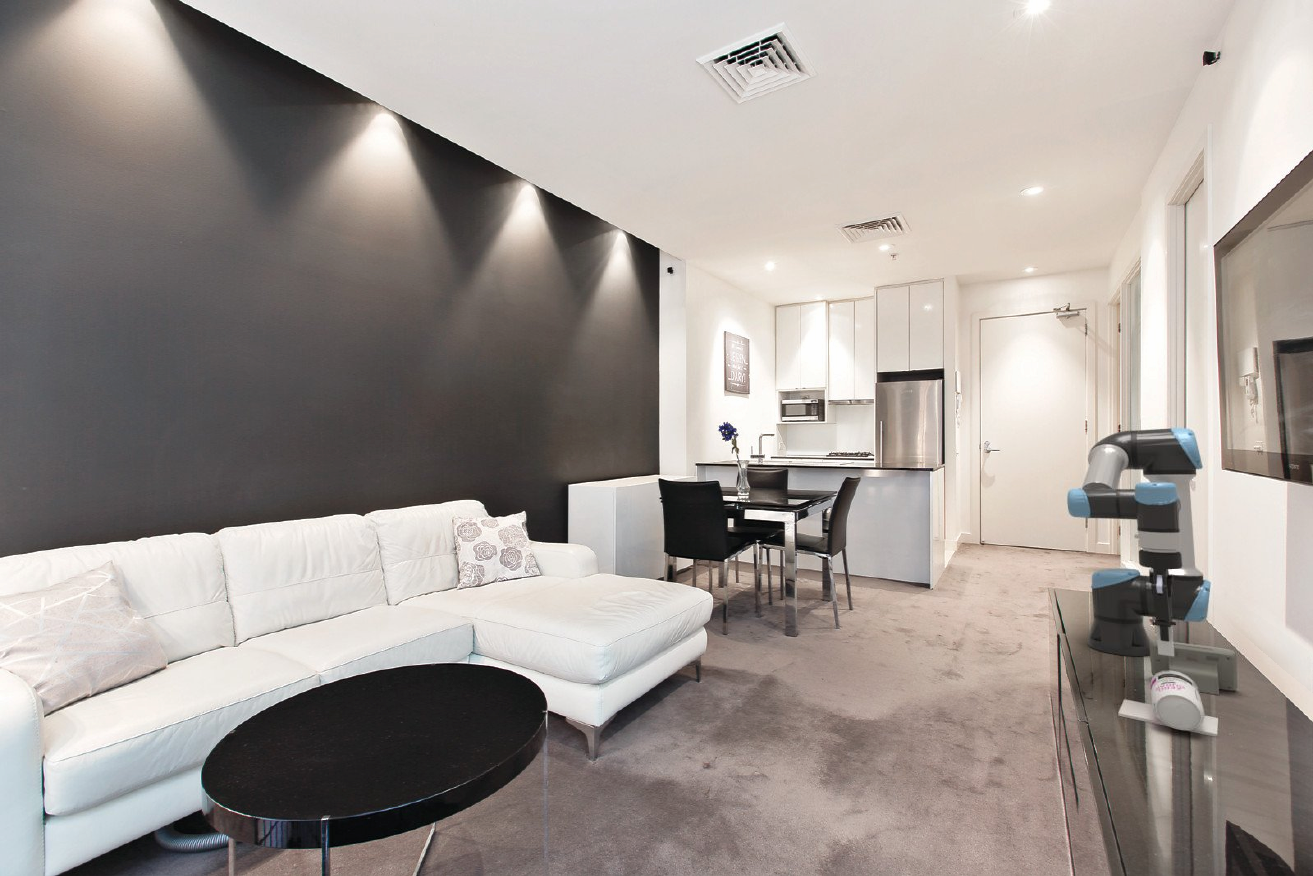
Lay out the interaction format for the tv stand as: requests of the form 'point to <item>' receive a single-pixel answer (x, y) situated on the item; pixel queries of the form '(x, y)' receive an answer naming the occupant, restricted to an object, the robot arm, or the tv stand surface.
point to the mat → (1147, 714)
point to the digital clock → (1199, 665)
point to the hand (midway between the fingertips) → (1166, 654)
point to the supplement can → (1176, 700)
